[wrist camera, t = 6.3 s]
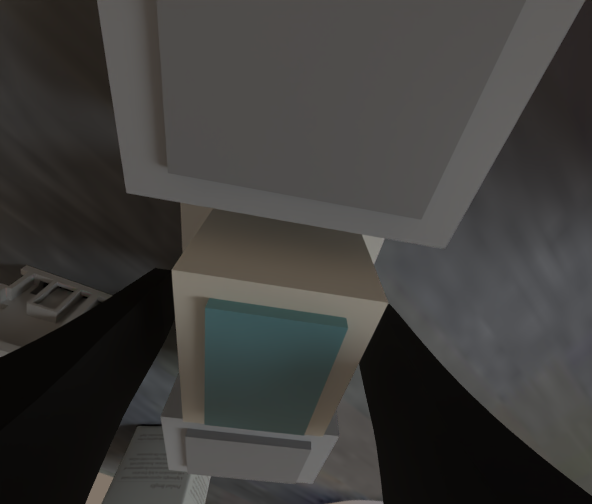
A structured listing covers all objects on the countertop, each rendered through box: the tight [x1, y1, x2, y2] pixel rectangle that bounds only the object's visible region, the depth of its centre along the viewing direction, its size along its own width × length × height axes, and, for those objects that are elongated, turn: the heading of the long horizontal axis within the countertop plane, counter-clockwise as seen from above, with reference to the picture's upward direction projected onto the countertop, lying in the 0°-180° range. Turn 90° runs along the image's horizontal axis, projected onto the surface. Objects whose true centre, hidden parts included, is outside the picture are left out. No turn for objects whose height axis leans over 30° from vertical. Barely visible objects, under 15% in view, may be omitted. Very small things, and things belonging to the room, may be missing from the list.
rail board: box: [97, 0, 585, 484], centre depth 11 cm, size 9×20×7 cm, turn 169°
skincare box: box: [102, 426, 211, 504], centre depth 22 cm, size 6×6×7 cm
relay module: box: [172, 208, 388, 437], centre depth 10 cm, size 4×6×6 cm
